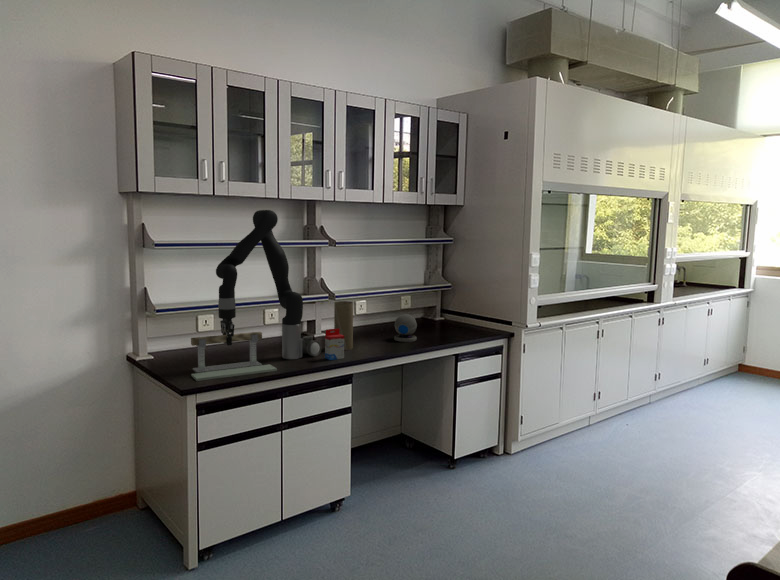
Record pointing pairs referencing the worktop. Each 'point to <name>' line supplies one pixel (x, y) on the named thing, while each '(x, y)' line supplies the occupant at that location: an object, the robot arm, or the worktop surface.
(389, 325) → the worktop surface
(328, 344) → the ink box
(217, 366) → the hook stand
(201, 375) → the mat
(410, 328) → the webcam
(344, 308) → the tube
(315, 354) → the pipe fitting
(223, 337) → the rail
